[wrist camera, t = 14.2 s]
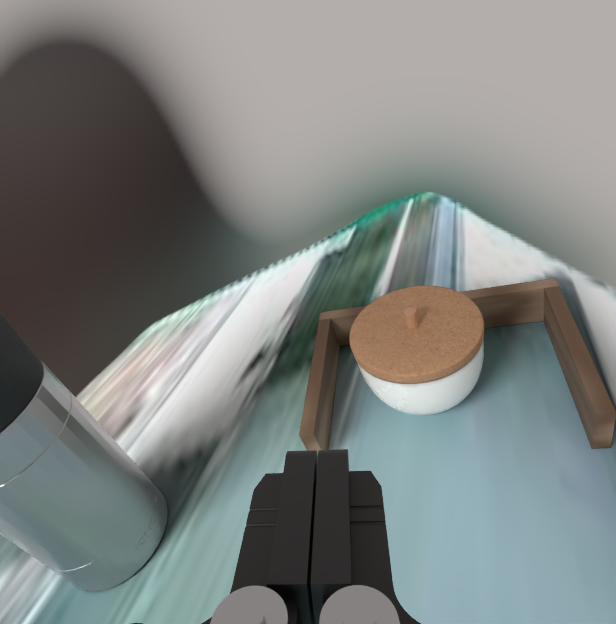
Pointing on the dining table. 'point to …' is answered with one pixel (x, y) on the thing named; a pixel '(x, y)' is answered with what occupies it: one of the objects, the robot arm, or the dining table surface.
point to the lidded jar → (420, 348)
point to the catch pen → (496, 312)
